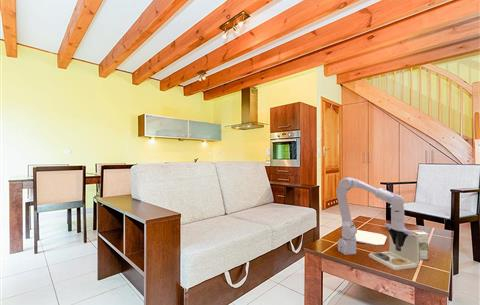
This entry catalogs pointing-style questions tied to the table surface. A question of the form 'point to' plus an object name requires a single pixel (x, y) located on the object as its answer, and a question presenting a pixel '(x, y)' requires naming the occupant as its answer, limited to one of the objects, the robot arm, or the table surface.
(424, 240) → the syrup box
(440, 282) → the table surface
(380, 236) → the plate
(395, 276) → the table surface
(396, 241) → the rod
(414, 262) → the equipment case
